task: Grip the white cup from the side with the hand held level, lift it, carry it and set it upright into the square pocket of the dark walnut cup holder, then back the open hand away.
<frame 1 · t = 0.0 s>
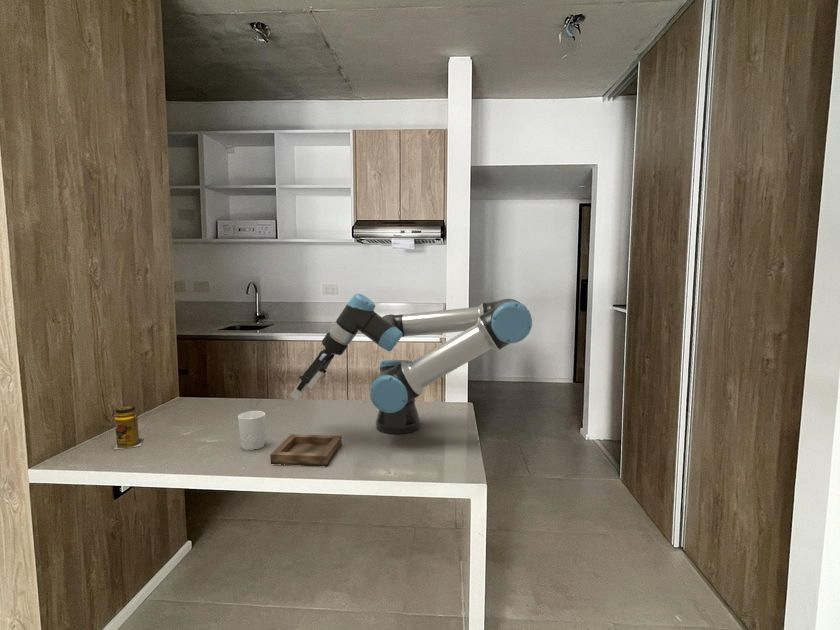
hand: (301, 391, 155), 15 cm above the counter, tool tilted 35°, fingers open, 13 cm apart
white cup: (253, 446, 150), on the counter
condiment: (129, 444, 153), on the counter
cup holder: (307, 454, 144), on the counter
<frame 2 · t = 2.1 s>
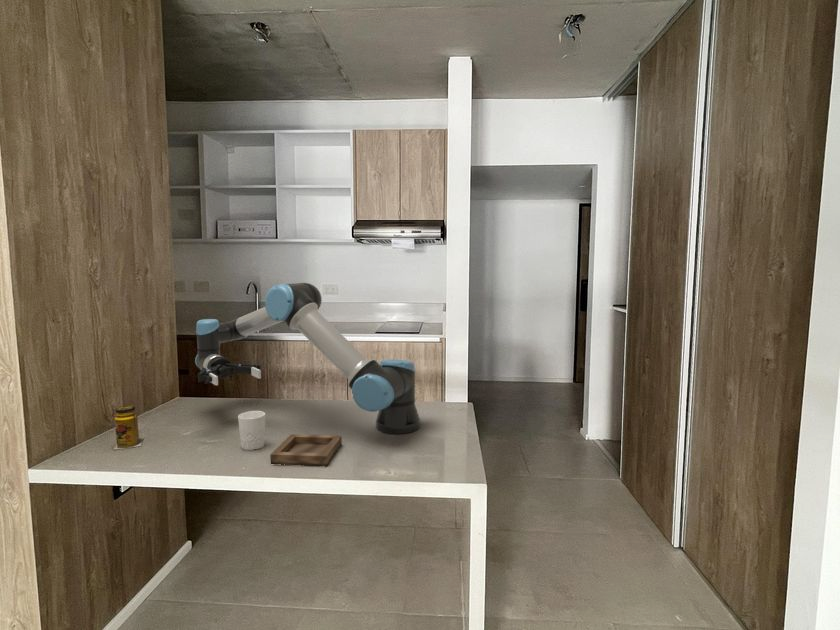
hand: (238, 377, 156), 20 cm above the counter, tool horizontal, fingers open, 13 cm apart
nothing on the counter moved.
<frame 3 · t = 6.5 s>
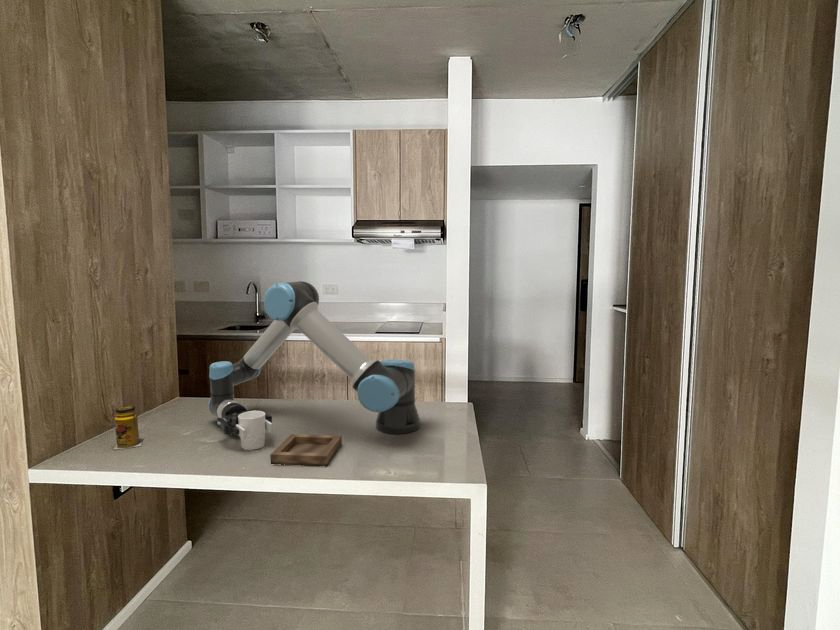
hand: (258, 431, 146), 6 cm above the counter, tool horizontal, fingers closed on white cup, 7 cm apart
white cup: (253, 446, 150), on the counter, touching gripper
everything else where it was.
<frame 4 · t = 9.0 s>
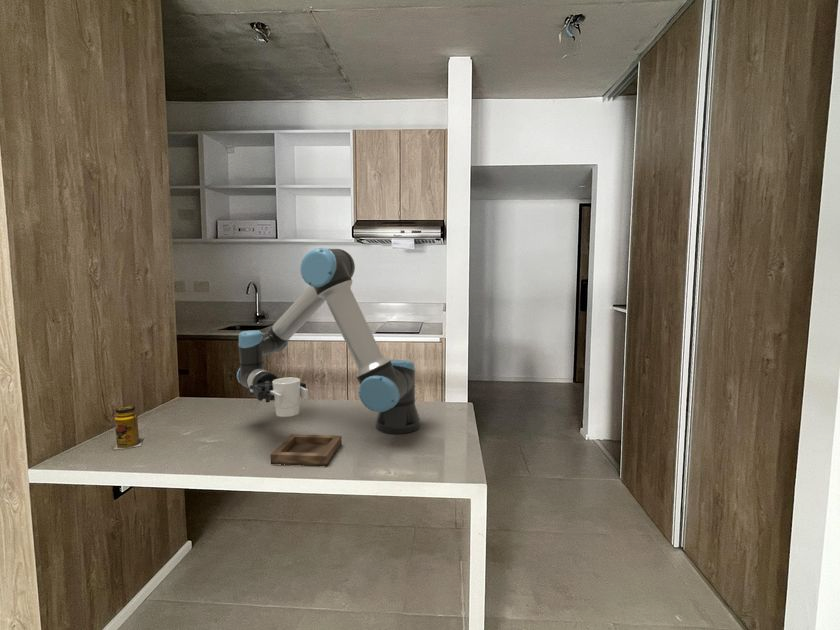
hand: (294, 397, 140), 18 cm above the counter, tool horizontal, fingers closed on white cup, 7 cm apart
white cup: (287, 414, 144), point 12 cm above the counter, touching gripper
everything else where it was.
when the fingers open (8 cm above the counter, at t = 11.7 s): white cup drops 1 cm, resting on cup holder.
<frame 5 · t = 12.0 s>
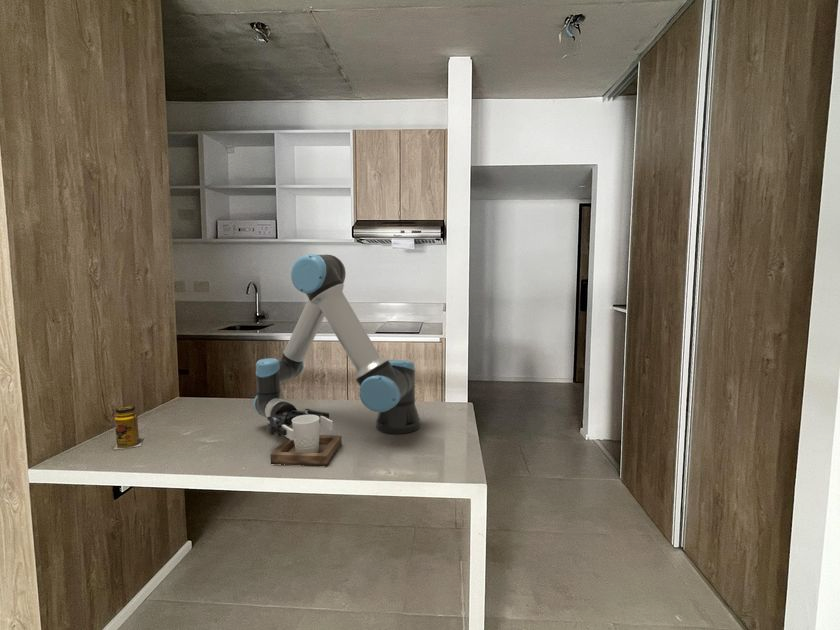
hand: (313, 430, 140), 8 cm above the counter, tool horizontal, fingers open, 11 cm apart
white cup: (307, 452, 144), point 1 cm above the counter, touching cup holder
everything else where it was.
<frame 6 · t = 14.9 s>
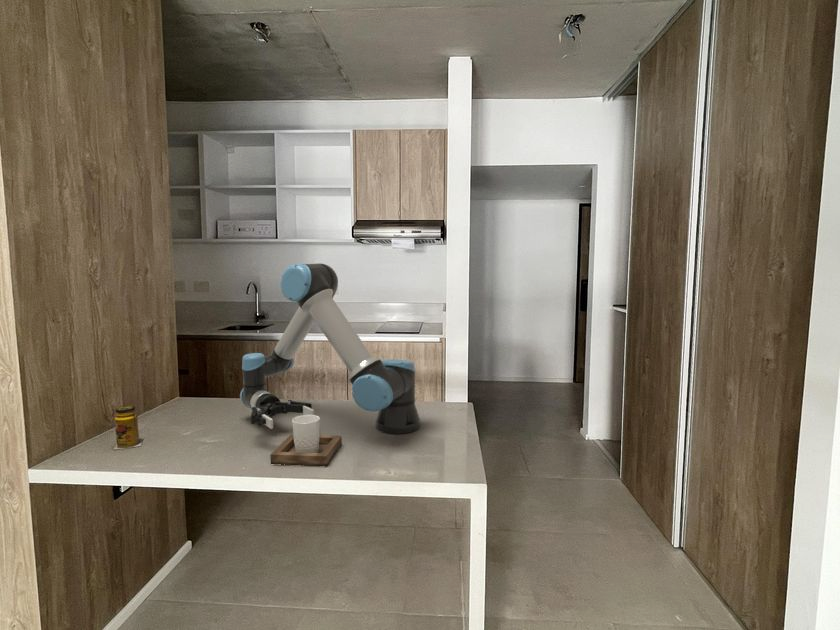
hand: (293, 419, 150), 8 cm above the counter, tool horizontal, fingers open, 13 cm apart
nothing on the counter moved.
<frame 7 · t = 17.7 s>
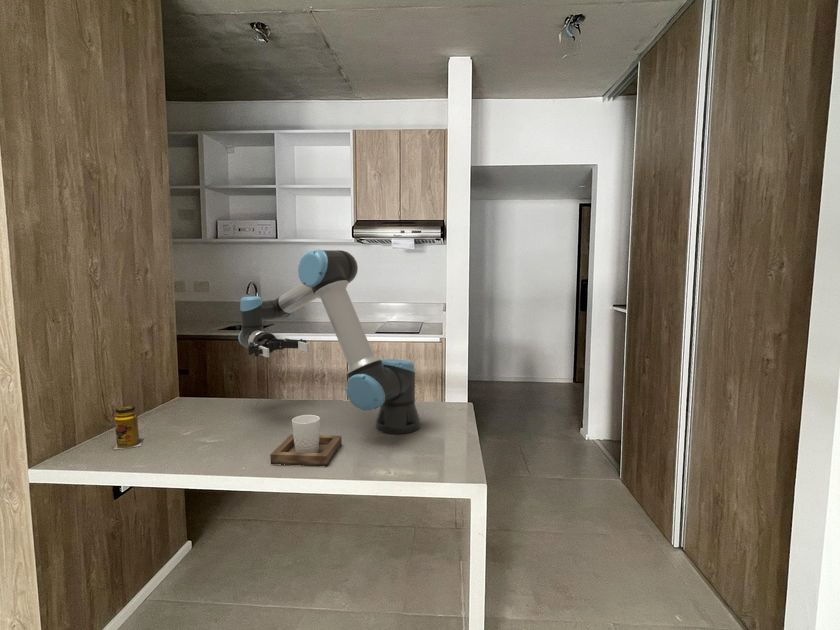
hand: (288, 350, 157), 28 cm above the counter, tool horizontal, fingers open, 13 cm apart
nothing on the counter moved.
at the end: white cup inside the target area on the cup holder (0.2 cm from its centre), point 0.6 cm above the cup holder's base; white cup tilted 0°; the gripper is holding nothing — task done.
